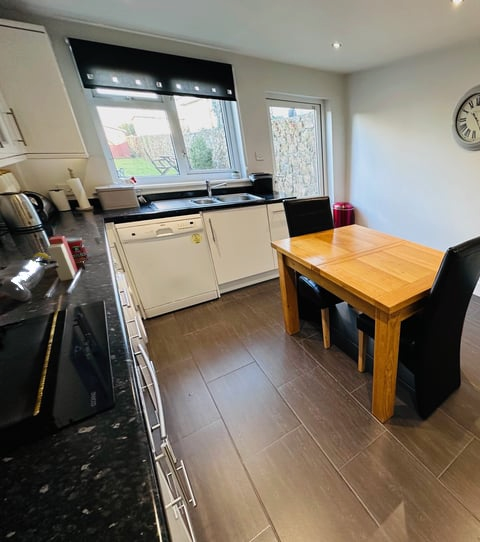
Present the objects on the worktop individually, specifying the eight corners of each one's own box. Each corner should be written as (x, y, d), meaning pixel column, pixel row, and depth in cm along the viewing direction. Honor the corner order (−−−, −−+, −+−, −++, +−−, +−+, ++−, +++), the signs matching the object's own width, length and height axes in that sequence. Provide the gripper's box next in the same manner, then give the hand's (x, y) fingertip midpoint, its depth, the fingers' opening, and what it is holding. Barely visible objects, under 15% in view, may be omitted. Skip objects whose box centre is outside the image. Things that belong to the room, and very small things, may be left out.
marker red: (63, 276, 118) (48, 239, 111) (66, 272, 121) (51, 236, 115) (75, 274, 120) (61, 238, 114) (78, 270, 123) (64, 235, 117)
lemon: (49, 270, 125) (42, 254, 122) (33, 271, 124) (25, 254, 121) (57, 266, 130) (50, 250, 127) (42, 267, 129) (35, 250, 126)
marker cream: (60, 280, 114) (47, 247, 108) (63, 276, 118) (50, 244, 112) (73, 278, 116) (60, 246, 111) (75, 274, 120) (63, 243, 114)
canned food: (70, 264, 133) (62, 242, 128) (65, 261, 137) (56, 239, 132) (91, 260, 139) (84, 238, 134) (86, 256, 143) (78, 235, 138)
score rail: (43, 301, 101) (38, 290, 99) (62, 273, 123) (58, 264, 122) (73, 295, 105) (69, 285, 104) (86, 269, 128) (83, 261, 126)
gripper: (48, 260, 84) (61, 245, 97) (-21, 269, 77) (3, 251, 90) (57, 283, 87) (69, 265, 100) (-8, 293, 80) (14, 272, 92)
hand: (38, 258), depth 95 cm, fingers closed
